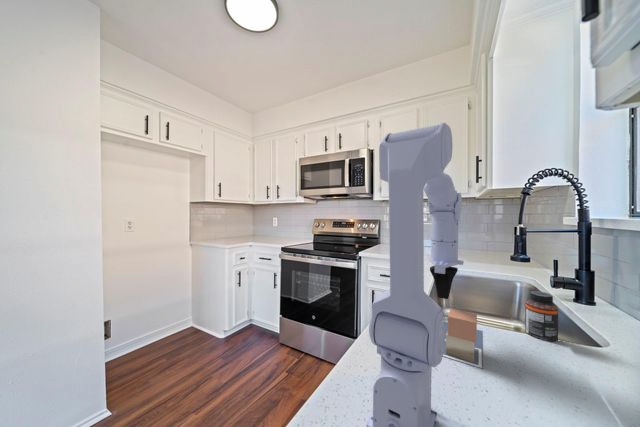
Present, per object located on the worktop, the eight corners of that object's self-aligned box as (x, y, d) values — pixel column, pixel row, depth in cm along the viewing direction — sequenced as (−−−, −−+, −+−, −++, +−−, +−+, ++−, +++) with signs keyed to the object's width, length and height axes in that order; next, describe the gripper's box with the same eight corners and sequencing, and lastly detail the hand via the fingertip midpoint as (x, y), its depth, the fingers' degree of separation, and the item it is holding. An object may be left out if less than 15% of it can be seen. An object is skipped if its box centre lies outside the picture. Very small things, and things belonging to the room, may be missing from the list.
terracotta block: (476, 342, 48) (476, 322, 48) (447, 335, 50) (448, 316, 50) (476, 332, 52) (476, 314, 52) (450, 326, 55) (450, 308, 55)
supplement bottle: (537, 332, 63) (538, 288, 63) (564, 344, 57) (565, 296, 57) (518, 334, 61) (519, 290, 61) (545, 347, 56) (546, 298, 56)
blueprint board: (483, 374, 46) (483, 368, 46) (407, 350, 54) (407, 345, 54) (482, 334, 61) (482, 330, 61) (423, 320, 69) (423, 316, 69)
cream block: (474, 362, 48) (474, 342, 48) (445, 353, 51) (446, 334, 51) (474, 350, 52) (474, 332, 52) (448, 343, 55) (448, 325, 55)
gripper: (461, 245, 49) (460, 311, 49) (465, 239, 61) (464, 292, 61) (424, 242, 53) (423, 304, 53) (435, 237, 65) (434, 287, 65)
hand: (443, 297), depth 58 cm, fingers closed
